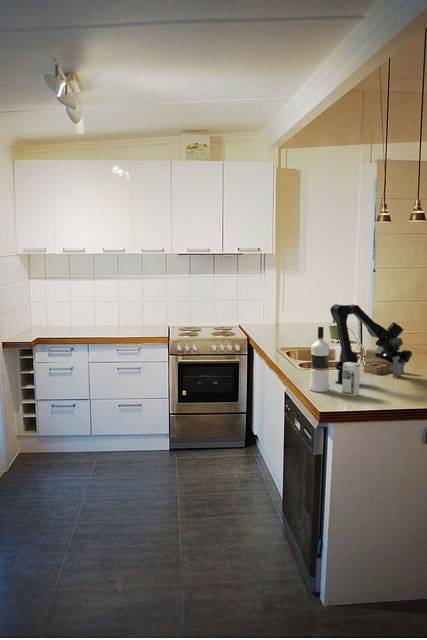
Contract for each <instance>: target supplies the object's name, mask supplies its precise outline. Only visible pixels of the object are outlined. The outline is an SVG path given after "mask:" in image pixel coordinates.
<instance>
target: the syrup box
mask: <svg viewBox="0 0 427 640" xmlns="http://www.w3.org/2000/svg"><path fill="white" fill-rule="evenodd" d="M360 371H361V363H358V362H357V363H351V362H346V363H343V382H342V384H341V386H342V387H341V395H345V396H348V397H356V396H358V395H359V394H360V379H361V378H360V377H361V376H360V375H361V374H360V373H361V372H360Z"/></svg>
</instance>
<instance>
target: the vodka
mask: <svg viewBox="0 0 427 640" xmlns="http://www.w3.org/2000/svg"><path fill="white" fill-rule="evenodd" d="M310 348H311V350H310V351H311V352H310V354H311V355H310V356H311V358H310V359H311V361H310V362H311V363H310V382H309V385H308V386H309V390H310V391H311V390H312V391H311V392H314V391H315V392H314V393H327V392H328V391H330V381H329V374H330V373H329V372H330V368H329V365H330V345H329V344H328V343H327V342H326V341H324V326H318V327H317V341H315V342H313V343H312V345H311V347H310Z"/></svg>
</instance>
